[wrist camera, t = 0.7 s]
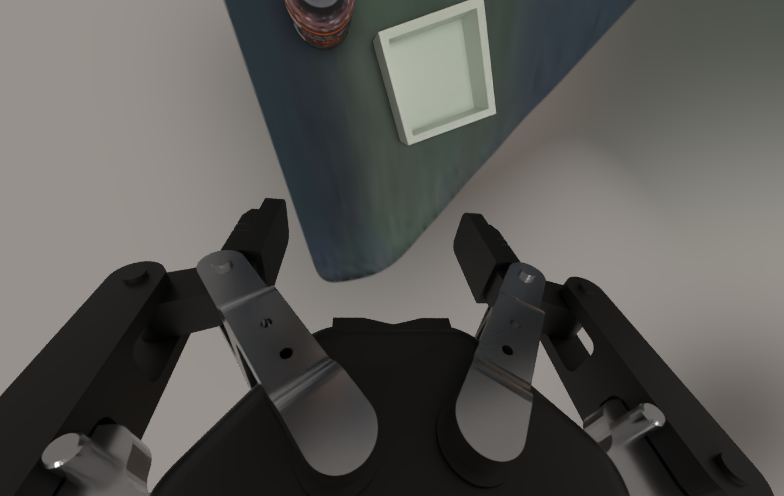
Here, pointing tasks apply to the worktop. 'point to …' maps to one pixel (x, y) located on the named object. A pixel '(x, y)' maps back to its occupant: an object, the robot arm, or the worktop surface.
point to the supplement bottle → (321, 20)
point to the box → (437, 71)
